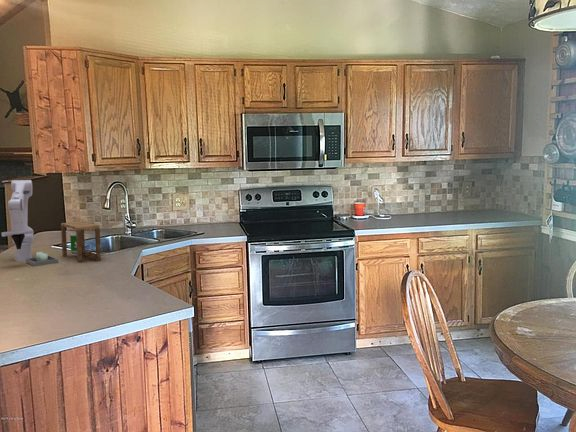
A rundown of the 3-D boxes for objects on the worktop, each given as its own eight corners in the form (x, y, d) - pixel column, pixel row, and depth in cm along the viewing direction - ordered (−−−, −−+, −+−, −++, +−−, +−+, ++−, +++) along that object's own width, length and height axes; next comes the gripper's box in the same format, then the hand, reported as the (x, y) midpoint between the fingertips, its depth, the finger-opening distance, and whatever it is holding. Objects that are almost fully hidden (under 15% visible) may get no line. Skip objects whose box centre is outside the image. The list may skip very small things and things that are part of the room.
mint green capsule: (39, 263, 267) (38, 254, 266) (46, 262, 269) (45, 253, 269) (41, 264, 264) (41, 255, 263) (49, 263, 267) (48, 254, 266)
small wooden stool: (62, 257, 285) (60, 223, 282) (83, 254, 293) (82, 221, 291) (79, 263, 269) (77, 227, 267) (100, 260, 278) (99, 225, 275)
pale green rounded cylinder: (35, 261, 270) (35, 252, 270) (42, 260, 273) (42, 251, 272) (38, 262, 268) (37, 253, 267) (45, 261, 270) (44, 252, 270)
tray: (26, 263, 269) (25, 258, 268) (49, 260, 277) (49, 255, 277) (34, 267, 260) (34, 262, 260) (58, 263, 269) (58, 259, 268)
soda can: (70, 253, 294) (69, 233, 293) (72, 251, 301) (71, 231, 300) (84, 253, 296) (83, 232, 295) (85, 250, 303) (84, 230, 302)
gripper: (3, 224, 250) (5, 252, 252) (35, 222, 260) (36, 248, 262) (-1, 223, 255) (1, 250, 257) (30, 220, 265) (31, 246, 267)
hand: (18, 248), depth 260 cm, fingers closed
